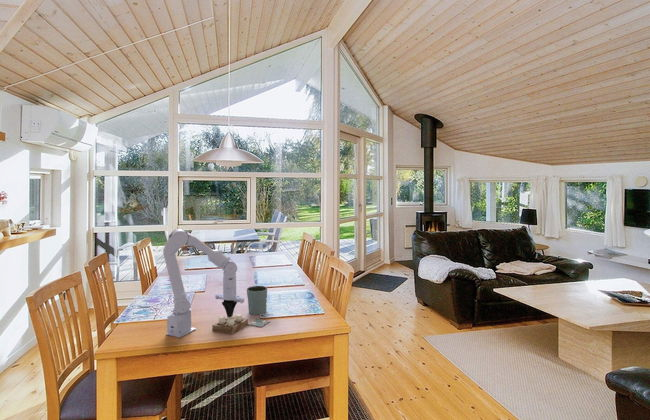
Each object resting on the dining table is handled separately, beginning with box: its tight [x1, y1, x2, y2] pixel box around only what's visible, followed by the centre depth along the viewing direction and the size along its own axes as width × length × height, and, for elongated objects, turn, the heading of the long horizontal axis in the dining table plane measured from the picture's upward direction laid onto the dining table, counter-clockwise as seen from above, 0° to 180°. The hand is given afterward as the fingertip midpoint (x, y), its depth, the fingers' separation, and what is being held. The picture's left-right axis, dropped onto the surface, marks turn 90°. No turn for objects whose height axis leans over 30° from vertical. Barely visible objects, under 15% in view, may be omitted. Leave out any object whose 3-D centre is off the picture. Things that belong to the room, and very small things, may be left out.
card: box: [247, 318, 271, 328], centre depth 164 cm, size 7×7×1 cm
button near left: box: [218, 316, 226, 325], centre depth 157 cm, size 3×3×3 cm
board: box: [211, 315, 249, 335], centre depth 159 cm, size 12×10×2 cm
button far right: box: [235, 313, 243, 323], centre depth 160 cm, size 3×3×3 cm
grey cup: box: [246, 285, 268, 316], centre depth 178 cm, size 10×10×12 cm
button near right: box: [228, 318, 234, 327], centre depth 155 cm, size 3×3×3 cm
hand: (229, 316), depth 162 cm, fingers closed
